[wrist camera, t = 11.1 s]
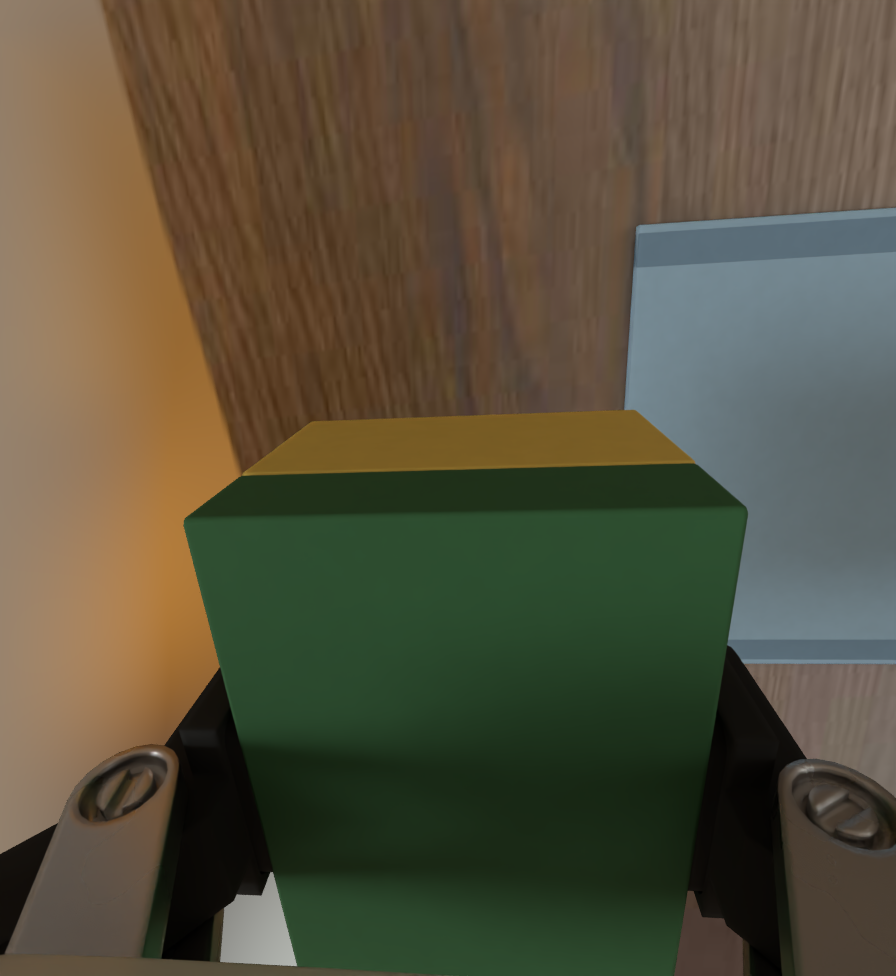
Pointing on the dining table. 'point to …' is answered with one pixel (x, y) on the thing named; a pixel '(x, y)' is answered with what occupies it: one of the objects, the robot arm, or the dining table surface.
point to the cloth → (783, 413)
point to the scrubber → (475, 684)
